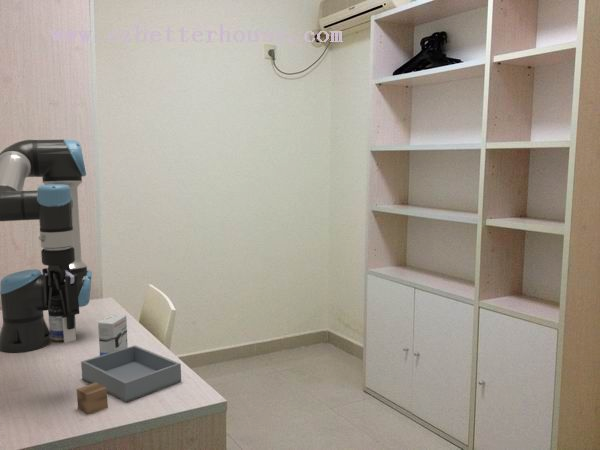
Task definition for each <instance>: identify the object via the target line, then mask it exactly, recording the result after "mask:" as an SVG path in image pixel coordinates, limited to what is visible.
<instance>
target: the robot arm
mask: <svg viewBox="0 0 600 450" xmlns="http://www.w3.org/2000/svg"><path fill="white" fill-rule="evenodd" d="M82 151H83V150H82V147H81V143H80V142H79V141H78V140H76V139H75V140H74V139H65V138H64V139H25V140H21V141H18V142H15V143H12V144H11V145H9V146H6V148H4V149H3V150H2V151H1V152H0V222H14V221H34V220H35V221H38V222H39V233H40V235H39V237H38V239H39V240H40V247H41V248H42V250H40V253H41V256H40V257H41V264H42V265H44V266H47V267H46V268H42V269H41V270H40V269H37V268H36V269H24V270H19V271H17V272H14V273H10V274H7V275H6V276H4V277H3V278H1V280H0V300H1V301H0V303H1V311H2V315H1V316H2V326H1V330H0V351H2V352H6V353H22V352H23V353H24V352H28V351H33V350H37V349H41V348H44V347H46V346H48V345H50V344H51V342H52V341H51V340H50V328H49V326H48V325H47V322H46V320H45V318H44V317H45V315H44V312H45V311H48V310H49V308H50V307H51V306H52V304H51V301H50V298H51V297H53V296H56V295H60V297H61V302H62V307H63V311H64V315H62V316H61V317H62V319H63V334H64V343H69V342H73V341H76V340H77V331H76V332H75V322H76V315H80V308H83V307H86V306H88V304H89V303H90V301H91V300H90V298H91V290H92V289H91V288H92V274H93V273H92V270H89V269H88V266H87V264H86V263H85V262H83V260H82V246H81V231H80V229H81V228H80V214H79V213H80V212H79V211H80V210H79V195H78V187H79V186H80V185H81V184H82V182H83V179H82V177H86V176H87V172H86V167H85V166H86V165H85V161H84V155H83V152H82ZM27 178H42V183H43V184H42V185H39V186H38V187H37V190H24V189H23V188H24V186H25V181H26V179H27Z"/></svg>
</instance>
